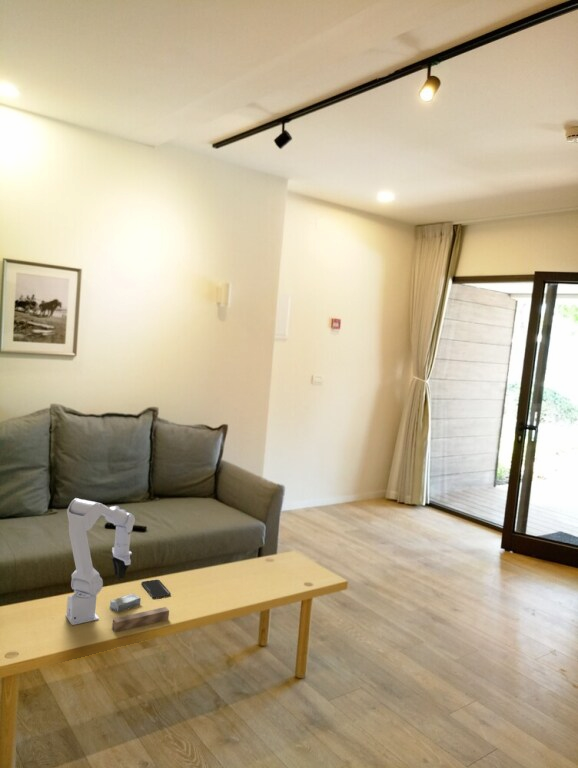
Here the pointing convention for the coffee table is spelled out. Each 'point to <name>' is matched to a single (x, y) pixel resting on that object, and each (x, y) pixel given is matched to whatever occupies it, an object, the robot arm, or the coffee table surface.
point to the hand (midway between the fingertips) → (119, 576)
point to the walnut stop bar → (140, 619)
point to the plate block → (125, 602)
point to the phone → (155, 589)
